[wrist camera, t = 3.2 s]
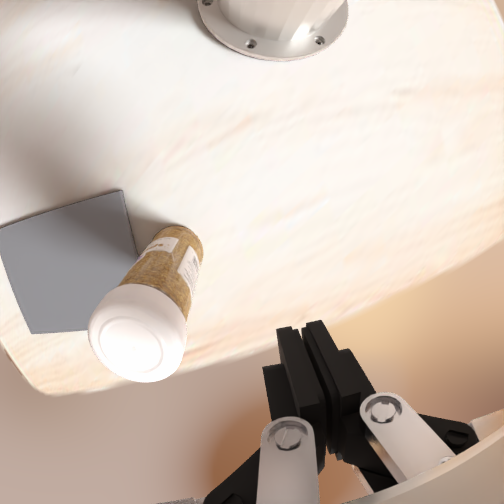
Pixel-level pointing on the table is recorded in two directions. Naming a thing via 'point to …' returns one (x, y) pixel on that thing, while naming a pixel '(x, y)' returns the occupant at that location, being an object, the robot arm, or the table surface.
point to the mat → (68, 261)
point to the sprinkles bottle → (149, 309)
